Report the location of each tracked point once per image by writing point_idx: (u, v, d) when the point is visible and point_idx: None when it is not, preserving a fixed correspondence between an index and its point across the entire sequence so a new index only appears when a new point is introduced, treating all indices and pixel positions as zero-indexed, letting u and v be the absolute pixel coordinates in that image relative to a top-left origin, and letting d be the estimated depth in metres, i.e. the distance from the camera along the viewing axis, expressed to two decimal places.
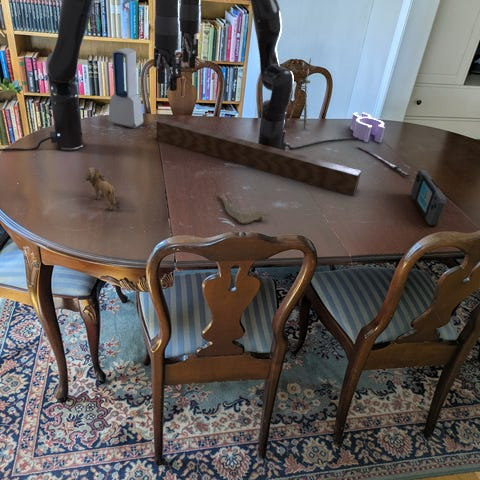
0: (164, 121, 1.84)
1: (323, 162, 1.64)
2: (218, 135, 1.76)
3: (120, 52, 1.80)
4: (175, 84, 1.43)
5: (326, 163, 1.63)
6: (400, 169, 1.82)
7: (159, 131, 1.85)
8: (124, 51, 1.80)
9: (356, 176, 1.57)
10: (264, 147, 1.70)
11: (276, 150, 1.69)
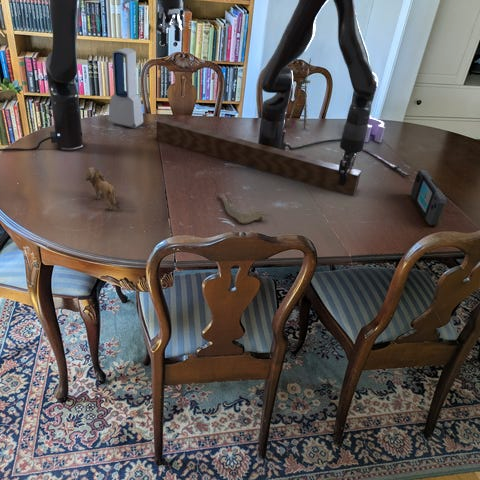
0: (164, 121, 1.84)
1: (323, 162, 1.64)
2: (218, 135, 1.76)
3: (120, 52, 1.80)
4: None
5: (326, 163, 1.63)
6: (400, 169, 1.82)
7: (159, 131, 1.85)
8: (124, 51, 1.80)
9: (356, 176, 1.57)
10: (264, 147, 1.70)
11: (276, 150, 1.69)
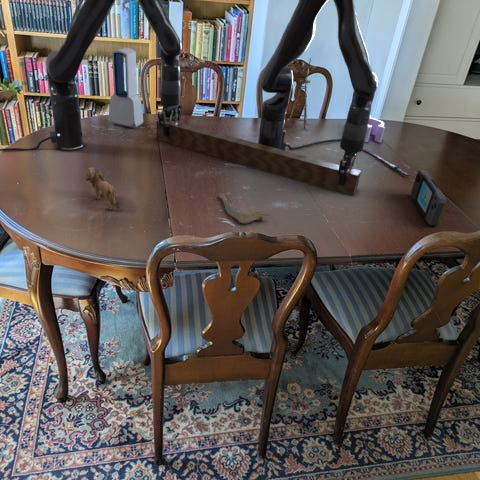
0: None
1: (323, 162, 1.64)
2: (218, 135, 1.76)
3: (120, 52, 1.80)
4: None
5: (326, 163, 1.63)
6: (400, 169, 1.82)
7: (159, 131, 1.85)
8: (124, 51, 1.80)
9: (356, 176, 1.57)
10: (264, 147, 1.70)
11: (276, 150, 1.69)
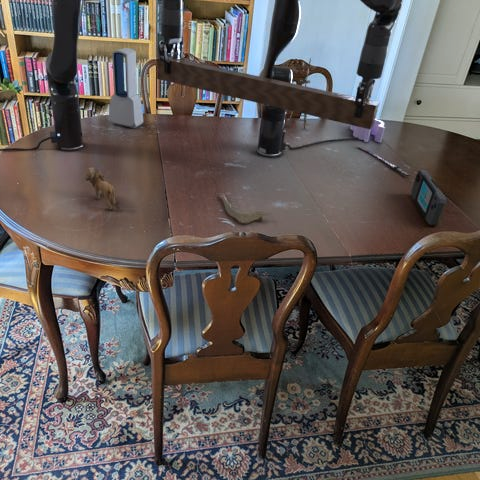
0: None
1: (338, 94, 1.51)
2: (223, 70, 1.63)
3: (120, 52, 1.80)
4: None
5: (341, 95, 1.50)
6: (400, 169, 1.82)
7: (160, 69, 1.72)
8: (124, 51, 1.80)
9: (374, 106, 1.44)
10: (273, 81, 1.57)
11: (286, 83, 1.56)
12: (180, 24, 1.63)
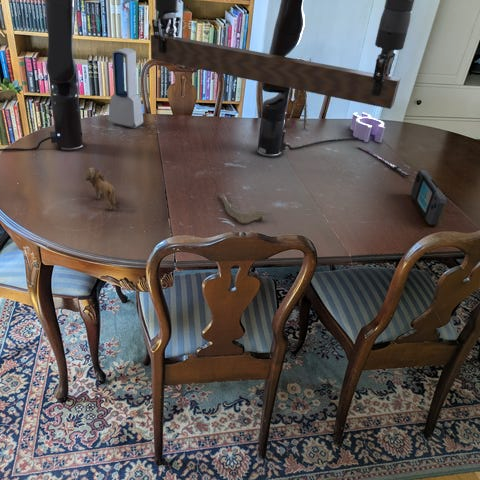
0: None
1: (353, 70, 1.34)
2: (224, 47, 1.47)
3: (120, 52, 1.80)
4: None
5: (357, 71, 1.34)
6: (400, 169, 1.82)
7: (154, 48, 1.56)
8: (124, 51, 1.80)
9: (395, 82, 1.27)
10: (280, 57, 1.41)
11: (294, 59, 1.40)
12: None
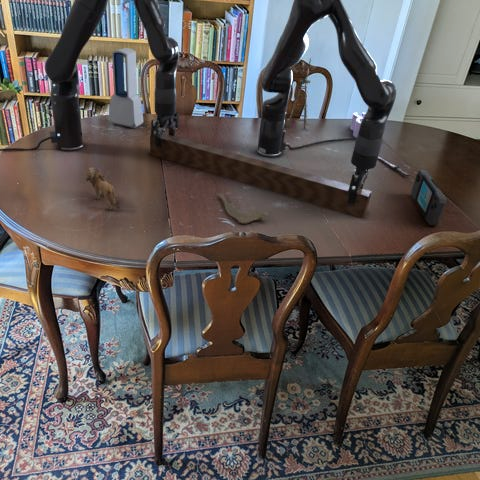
0: None
1: (330, 181, 1.51)
2: (216, 151, 1.63)
3: (120, 52, 1.80)
4: None
5: (334, 182, 1.50)
6: (400, 169, 1.82)
7: (153, 146, 1.72)
8: (124, 51, 1.80)
9: (367, 197, 1.44)
10: (266, 165, 1.57)
11: (278, 167, 1.56)
12: (173, 102, 1.62)
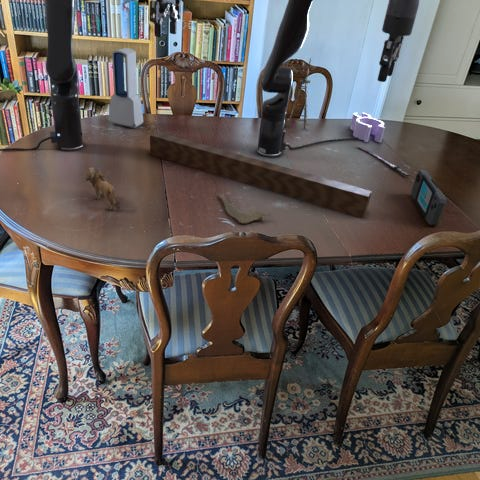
0: (158, 135, 1.71)
1: (330, 181, 1.51)
2: (216, 151, 1.63)
3: (120, 52, 1.80)
4: None
5: (334, 182, 1.50)
6: (400, 169, 1.82)
7: (153, 146, 1.72)
8: (124, 51, 1.80)
9: (367, 197, 1.44)
10: (266, 165, 1.57)
11: (278, 167, 1.56)
12: None
